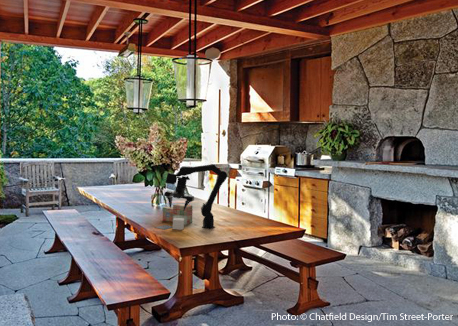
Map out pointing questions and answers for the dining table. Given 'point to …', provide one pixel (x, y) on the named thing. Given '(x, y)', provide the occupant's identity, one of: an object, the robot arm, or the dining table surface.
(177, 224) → the white cover
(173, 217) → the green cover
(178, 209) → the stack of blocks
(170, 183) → the robot arm
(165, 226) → the slate pad
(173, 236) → the dining table surface
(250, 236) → the dining table surface
